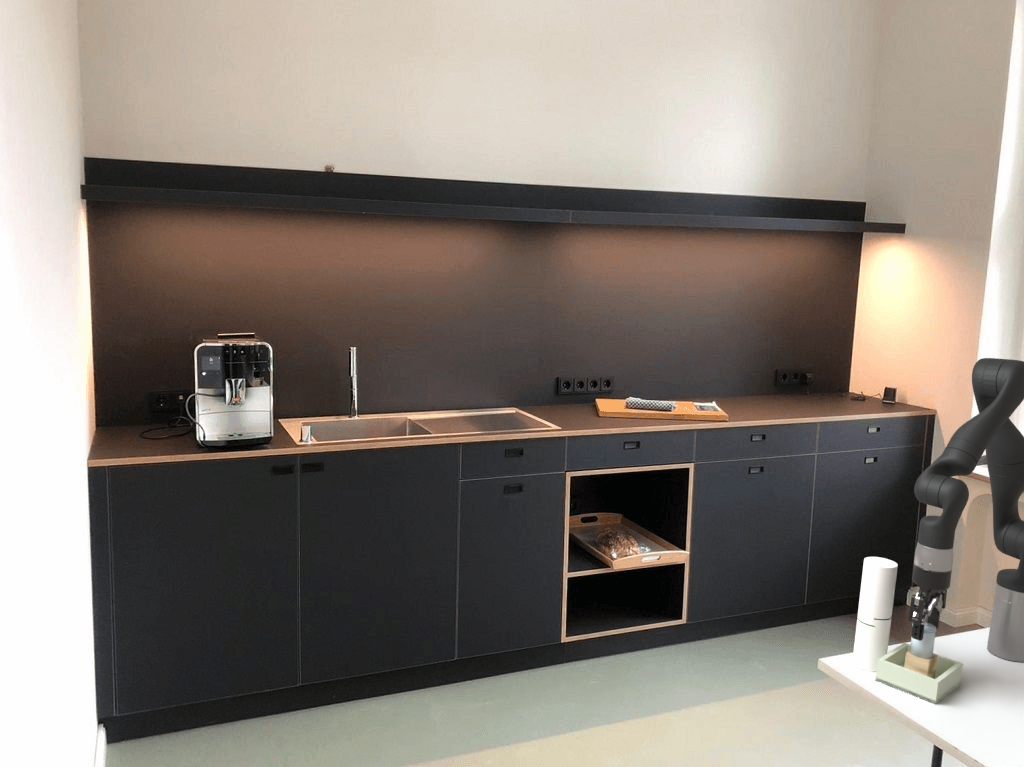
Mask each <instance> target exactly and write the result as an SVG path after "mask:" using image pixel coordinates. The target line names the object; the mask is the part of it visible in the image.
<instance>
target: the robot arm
mask: <svg viewBox="0 0 1024 767" xmlns="http://www.w3.org/2000/svg"><path fill="white" fill-rule="evenodd" d="M971 372H972V373H971V385H972V391H973V395H974V396H973V397H974V400H975V403H976V406H977V410H978V413H977V414H976V415H975V416H973V417H971V418H970V419H968V420H966V422H964V423H963V424H962V425H960V426H959V427H958V428H957V430H955V431H954V433H953V434H952V436H951V438H949V441H948V443H947V445H946V446H945V448H944V450H943V451H942V453H941V454H940V456H938V458H936V459H935V460H934V461H933V462H932V463H931V464H930V465H929V466H928V467H926V469H924V471H923V472H922V473H921V474H920V475H919V476H918V478H917V479H916V481H915V484H914V487H913V488H914V490H913V491H914V496H915V498H916V499H917V501H918V502H920V503H921V504H924V505H928V506H931V507H935V508H938V509H941V510H942V512H941V515H926V516H923V517H922V518H921V519H920V521H919V528H918V535H917V543H916V548H915V551H914V552H915V553H914V560H913V569H912V577H911V580H912V582H913V583H914V584H915V585H916V586H918V587H919V589H918V591H917V592H916V594H912V595H911V599H910V606H909V613H908V622H911V623H913V627H912V626H911V628H912V629H911V637H912V638H913V639H916V640H919V641H921V640H922V639H923V635H924V626H925V622H926V620H927V623H930V624H932V625H934V626H935V627H936V631H937V630H938V629H939V625H940V617H941V614H942V613H943V610H945V608H946V605H947V594H948V589H949V588H950V587H951V581H952V580H951V579H952V572H953V571H952V570H953V564H954V545H955V544H954V543H955V534H956V530H957V527H958V524H959V521H960V519H961V516H962V515H963V512H964V510H965V509H966V508H965V507H966V505H967V503H968V501H969V497H970V490H969V488H968V485H967V484H966V482H965V481H963V480H961V479H959V478H954V477H965V476H969V475H971V474H972V473H973V472H974V471H975V469H976V467H977V465H978V463H979V462H980V460H981V458H982V456H983V454H984V453H985V457H986V458H985V459H986V466H987V472H988V477H989V482H990V492H991V500H992V529H993V530H992V534H993V541H994V544H995V547H996V549H997V550H998V551H999V552H1001V553H1002V554H1004V555H1006V556H1008V557H1012V558H1014V559H1016V560H1019V562H1018V567H1017V568H1003V569H1001V570H999V571H998V572H997V574H996V582H995V588H994V595H993V602H992V610H991V618H990V624H989V625H990V626H989V632H988V638H987V645H986V647H987V648H986V649H987V651H988V653H990V654H992V655H994V656H996V657H997V658H1000V659H1004V660H1006V661H1007V660H1008V661H1010V662H1011V661H1012V662H1018V663H1019V662H1024V519H1022V518H1021V516H1020V514H1019V500H1020V497H1022V494H1023V493H1024V435H1023V433H1021V431H1020V430H1019V429H1018V428H1017V426H1016V425H1015V423H1013V421H1012V420H1011V419H1010V418H1011V416H1012V415H1013V413H1015V411H1016V410H1017V409H1018V407H1019V406H1020V405H1021V404H1022V403H1023V401H1024V361H1023V360H1020V359H1019V360H1018V359H1011V358H1009V359H1007V358H995V357H984V358H979V359H978V360H977V361H975V364H974V365H973V368H972V371H971Z"/></svg>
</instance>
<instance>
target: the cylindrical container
mask: <svg viewBox="0 0 1024 767" xmlns="http://www.w3.org/2000/svg"><path fill="white" fill-rule="evenodd" d="M861 574H862V575H861V580H860V581H861V583H860V591H859V599H858V600H859V601H858V609H857V619H856V626H855V636H854V644H853V654H852V664H853V665H854V666H855V667H856V668H859V669H860V670H863V671H867V672H872V673H876V671H877V663H878V659H880V658H881V657H883V656H884V655H886V654H887V653H888V652H889V651H888V648H889V642H890V634H891V633H890V632H891V623H892V614H893V608H894V600H895V590H896V582H897V574H898V563H897V562H896V561H894V560H891V559H888V558H886V557H879V556H867V557H864V559H863V566H862V573H861Z"/></svg>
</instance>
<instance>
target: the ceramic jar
mask: <svg viewBox="0 0 1024 767" xmlns="http://www.w3.org/2000/svg"><path fill="white" fill-rule="evenodd" d="M927 622H928V621H927ZM927 622H926V621H925V626H924V635H923V639H922V640H921V641H919V640H916V639H913V638H912V636H911V637H910V638H911V639H910V645H911V646H910V653H911V654H912V655H914V656H916V657H920V658H926V659H929V658H932V657H933V653H934V646H935V639H936V632H937V630H936V627H935V626H934V625H932V624H930V623H927ZM911 623H912V626H911V628H912V627H913V622H911Z"/></svg>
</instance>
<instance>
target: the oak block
mask: <svg viewBox="0 0 1024 767" xmlns="http://www.w3.org/2000/svg"><path fill="white" fill-rule="evenodd" d="M938 655H939V654H937V653H935V654H934V652H933V657H932V658H929V659H926V658H920V657H916V656H914V655H912V654H911V653H910V651H908V652H907V653H906V657H905V665H904V668H907V669H909V670H912V671H915V672H917V673H920V674H923V675H925V676H928V677H931V678H933V679H935V674H936V667H937V659H938Z"/></svg>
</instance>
